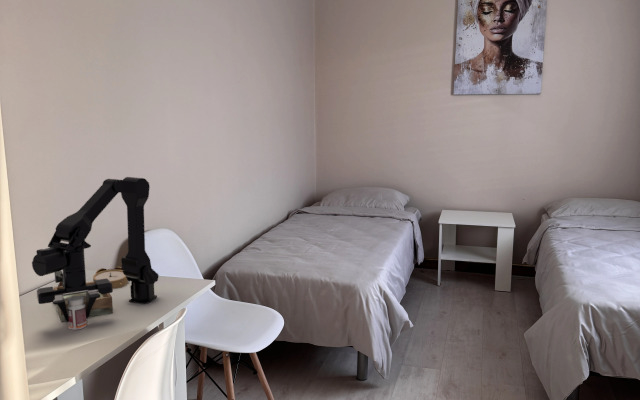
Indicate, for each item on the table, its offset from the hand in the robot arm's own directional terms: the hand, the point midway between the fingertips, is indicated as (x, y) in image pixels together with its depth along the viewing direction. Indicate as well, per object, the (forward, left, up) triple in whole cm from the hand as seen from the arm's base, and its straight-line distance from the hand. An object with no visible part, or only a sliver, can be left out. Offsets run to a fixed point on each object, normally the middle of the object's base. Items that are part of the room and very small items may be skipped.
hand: (77, 319), depth 149 cm
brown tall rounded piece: (+26, -29, -2) cm, 39 cm away
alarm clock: (+14, -36, -2) cm, 39 cm away
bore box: (+8, -13, -2) cm, 15 cm away
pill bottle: (0, 0, -2) cm, 2 cm away
